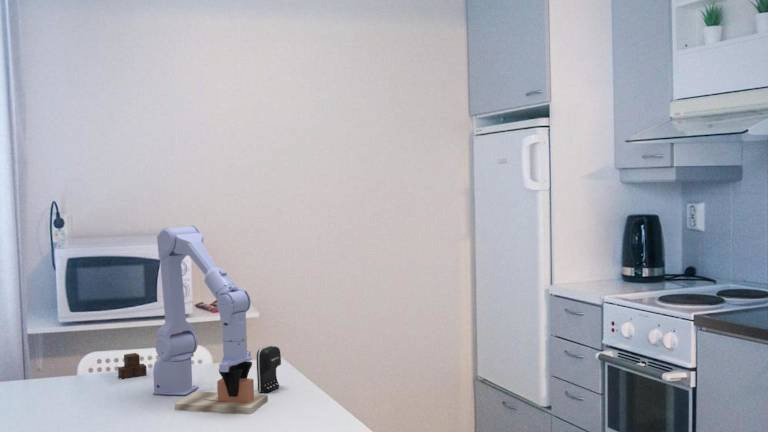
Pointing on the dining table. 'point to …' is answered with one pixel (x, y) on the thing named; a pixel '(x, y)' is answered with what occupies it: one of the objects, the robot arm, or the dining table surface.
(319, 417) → the dining table surface
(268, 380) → the battery charger
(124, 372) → the stack of crates
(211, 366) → the dining table surface
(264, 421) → the dining table surface
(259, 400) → the board
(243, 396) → the block
